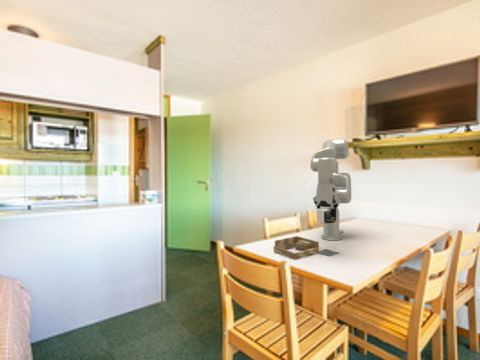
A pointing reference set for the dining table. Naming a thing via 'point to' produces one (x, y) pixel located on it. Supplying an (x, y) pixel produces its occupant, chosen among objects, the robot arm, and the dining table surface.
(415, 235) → the dining table surface
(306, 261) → the dining table surface
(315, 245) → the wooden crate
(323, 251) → the mat
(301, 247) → the offcut stack
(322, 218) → the medicine bottle
